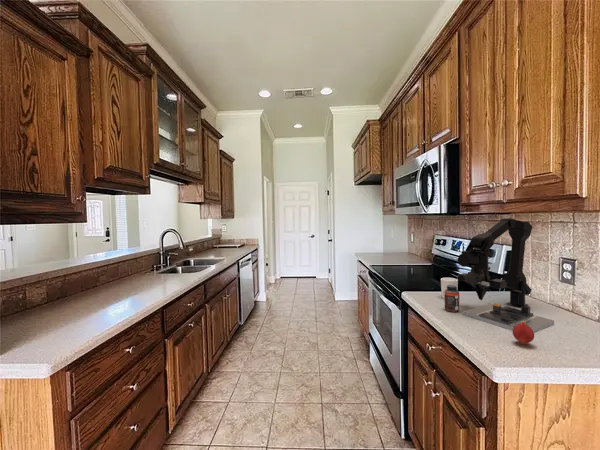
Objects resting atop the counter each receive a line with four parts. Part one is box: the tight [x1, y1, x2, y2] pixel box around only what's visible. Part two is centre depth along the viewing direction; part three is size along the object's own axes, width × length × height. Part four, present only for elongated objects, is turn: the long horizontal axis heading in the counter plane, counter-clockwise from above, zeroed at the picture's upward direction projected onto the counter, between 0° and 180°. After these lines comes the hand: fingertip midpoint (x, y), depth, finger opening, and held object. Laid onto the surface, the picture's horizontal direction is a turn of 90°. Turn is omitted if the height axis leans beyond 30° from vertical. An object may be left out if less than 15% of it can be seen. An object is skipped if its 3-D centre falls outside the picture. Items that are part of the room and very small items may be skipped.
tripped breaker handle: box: [492, 303, 502, 312], centre depth 121 cm, size 2×2×3 cm
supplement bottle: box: [444, 285, 460, 313], centre depth 130 cm, size 6×6×11 cm
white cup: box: [440, 277, 459, 300], centre depth 147 cm, size 8×8×10 cm
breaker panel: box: [462, 303, 555, 333], centre depth 118 cm, size 20×24×5 cm
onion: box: [512, 321, 535, 346], centre depth 96 cm, size 6×6×8 cm
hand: (480, 299), depth 127 cm, fingers closed
